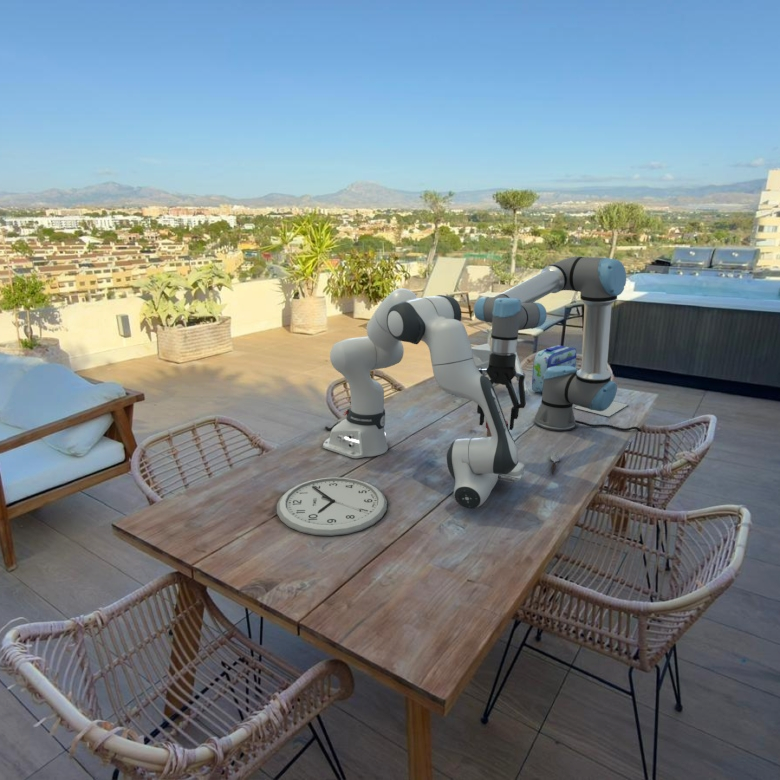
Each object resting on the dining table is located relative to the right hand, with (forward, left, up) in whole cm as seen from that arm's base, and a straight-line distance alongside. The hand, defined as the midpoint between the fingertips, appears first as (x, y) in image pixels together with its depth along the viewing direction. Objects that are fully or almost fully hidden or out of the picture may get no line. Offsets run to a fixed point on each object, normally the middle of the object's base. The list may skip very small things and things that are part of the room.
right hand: (496, 426), depth 157 cm
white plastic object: (0, -85, -16) cm, 87 cm away
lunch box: (-34, -94, -16) cm, 102 cm away
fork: (-20, -9, -16) cm, 28 cm away
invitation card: (-51, -73, -16) cm, 91 cm away
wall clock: (+45, +26, -16) cm, 54 cm away
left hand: (0, -1, -10) cm, 10 cm away
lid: (0, 0, +1) cm, 1 cm away
